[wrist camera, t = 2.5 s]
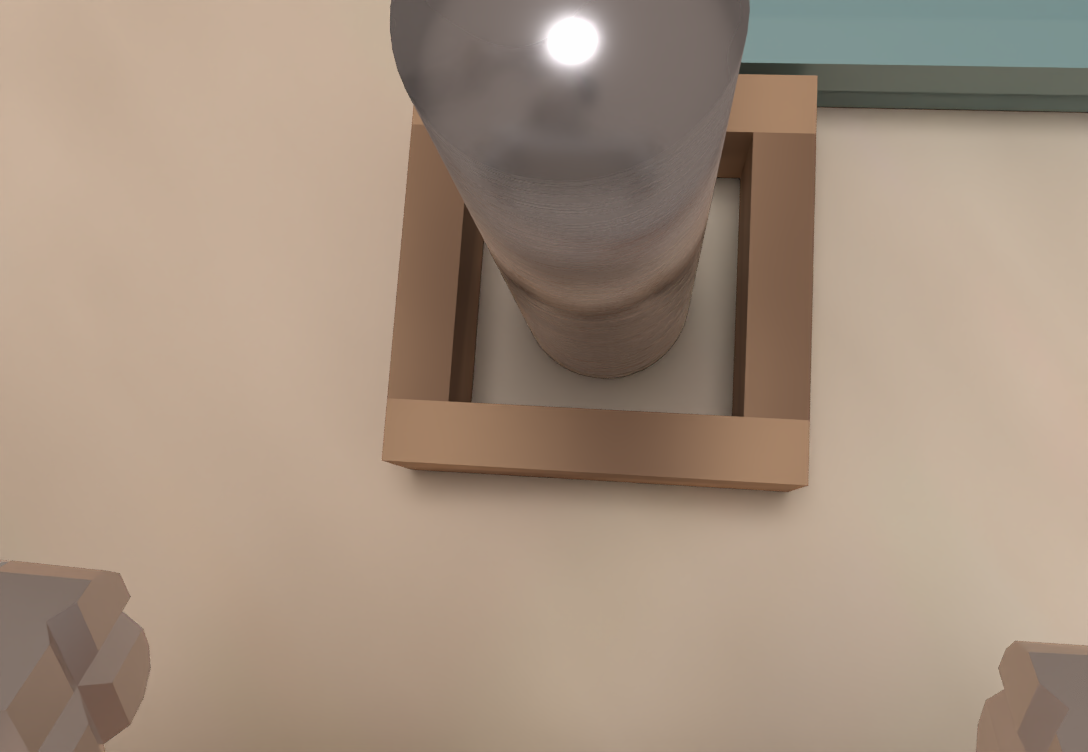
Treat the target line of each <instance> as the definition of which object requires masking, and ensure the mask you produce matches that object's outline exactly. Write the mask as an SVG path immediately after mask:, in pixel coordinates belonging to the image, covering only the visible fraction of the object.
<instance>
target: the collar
mask: <svg viewBox="0 0 1088 752" xmlns="http://www.w3.org/2000/svg"><path fill="white" fill-rule="evenodd" d="M816 120H817V76H816V75H758V74H738V79H737V84H736V88H735V93H734V98H733V103H732V107H731V112H730V117H729V121H728V126H727V131H726V135H725V140H724V145H723V149H722V154H721V159H720V164H719V168H718V173H717V177H724V178H740V206H739V234H738V263H737V291H736V320H735V348H734V377H733V405H732V416H717V415H698V414H679V413H660V412H641V411H621V410H602V409H583V408H564V407H545V406H525V405H506V404H487V403H471V398H472V385H473V372H474V359H475V346H476V333H477V320H478V307H479V294H480V281H481V267H482V254H483V241H484V239H483V237H482V235H481V234H480V232H479V230H478V228H477V226H476V224H475V222H474V220H473V218H472V216H471V214H470V212H469V210H468V208H467V207H466V205H465V203H464V201H463V199H462V197H461V195H460V193H459V191H458V189H457V187H456V185H455V183H454V182H453V180H452V178H451V176H450V174H449V172H448V170H447V168H446V166H445V164H444V162H443V160H442V158H441V156H440V155H439V153H438V151H437V149H436V147H435V145H434V143H433V141H432V139H431V137H430V135H429V133H428V131H427V129H426V128H425V126H424V124H423V122H422V120H421V118H420V116H419V114H418V112H417V110H416V108H415V106H414V107H413V118H412V129H411V140H410V151H409V162H408V173H407V184H406V196H405V207H404V218H403V229H402V240H401V251H400V262H399V273H398V284H397V296H396V307H395V318H394V329H393V340H392V351H391V362H390V373H389V385H388V396H387V407H386V418H385V429H384V440H383V451H382V461H386V462H389V463H392V464H395V465H399V466H402V467H405V468H408V469H414V470H431V471H448V472H465V473H481V474H498V475H515V476H532V477H549V478H566V479H582V480H599V481H616V482H633V483H650V484H666V485H683V486H700V487H717V488H734V489H750V490H767V491H784V492H789V491H792V490H795V489H798V488H801V487H804V486H808V471H809V427H810V383H811V339H812V295H813V252H814V208H815V164H816Z"/></svg>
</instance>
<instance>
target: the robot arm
mask: <svg viewBox="0 0 1088 752" xmlns="http://www.w3.org/2000/svg"><path fill="white" fill-rule="evenodd" d="M130 597H131V596H130V594H129V592H128V590H127V588H126V586H125V583H124V581H123V579H122V577H121V575H120V573H116V572H111V571H104V570H95V569H86V568H76V567H67V566H58V565H48V564H39V563H29V562H20V561H7V560H0V752H105V748H104V743H106V742H107V741H109V740H110V739H111V738H113V737H114V736H115V735H117V734H118V733H120V732H121V731H122V730H124V729H125V728H126V727H128V726H129V725H130V724H131V722H132V720H133V718H134V716H135V714H136V712H137V710H138V708H139V706H140V704H141V702H142V700H143V698H144V694H145V690H146V686H147V681H148V677H149V672H150V668H151V666H150V651H149V644H148V641H147V638H146V636H145V633H144V630H143V628H142V627H141V626H140V625H138V624H137V623H136V622H135V621H133V620H132V619H131V618H130V617H128V616H127V615H126V614H125V613H123V612H122V611H123V609H124V607H125V606H126V604H127V602H128V601H129V599H130ZM998 669H999V673H1000V676H1001V680H1002V683H1003V686H1004V690H1002V691H1000V692H999V693H997V694H995V695H994V696H992V697H990V698H989V699H987V700H986V701H985V704H984V707H983V710H982V713H981V716H980V719H979V723H978V729H977V746H976V752H1088V646H1087V645H1072V644H1057V643H1041V642H1026V641H1014V642H1013V643H1012V644H1011V645H1010V646H1009V647H1008V648H1006V650H1005V652H1004V655H1003V657H1002V660H1001V662H1000V665H999V667H998Z"/></svg>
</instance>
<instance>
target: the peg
mask: <svg viewBox="0 0 1088 752" xmlns="http://www.w3.org/2000/svg"><path fill="white" fill-rule="evenodd" d="M749 13H750V2H749V0H391V6H390V33H391V42H392V50H393V54H394V58H395V62H396V65H397V69H398V72H399V74H400V77H401V79H402V82H403V84H404V86H405V89H406V91H407V93H408V95H409V97H410V99H411V101H412V103H413V104H414V106H415V108H416V110H417V112H418V114H419V116H420V118H421V120H422V122H423V124H424V126H425V128H426V129H427V131H428V133H429V135H430V137H431V139H432V141H433V143H434V145H435V147H436V149H437V151H438V153H439V155H440V156H441V158H442V160H443V162H444V164H445V166H446V168H447V170H448V172H449V174H450V176H451V178H452V180H453V182H454V183H455V185H456V187H457V189H458V191H459V193H460V195H461V197H462V199H463V201H464V203H465V205H466V207H467V208H468V210H469V212H470V214H471V216H472V218H473V220H474V222H475V224H476V226H477V228H478V230H479V232H480V234H481V235H482V237H483V239H484V241H485V243H486V245H487V247H488V249H489V251H490V253H491V255H492V257H493V259H494V261H495V262H496V264H497V266H498V268H499V270H500V272H501V274H502V276H503V278H504V280H505V282H506V284H507V286H508V287H509V289H510V291H511V293H512V295H513V297H514V299H515V301H516V303H517V305H518V307H519V309H520V311H521V313H522V314H523V316H524V318H525V320H526V322H527V324H528V326H529V328H530V330H531V332H532V334H533V335H534V337H535V339H536V341H537V342H538V344H539V345H540V346H541V348H542V349H543V350H544V351H545V352H546V353H547V354H548V355H549V356H550V357H551V358H552V359H553V360H554V361H556V362H557V363H559V364H560V365H561V366H563V367H565V368H567V369H569V370H571V371H573V372H576V373H578V374H581V375H585V376H589V377H596V378H616V377H623V376H627V375H630V374H634V373H636V372H639V371H641V370H643V369H645V368H647V367H649V366H650V365H652V364H654V363H655V362H656V361H657V360H659V359H660V358H661V357H662V356H663V355H664V354H665V353H666V352H667V351H668V350H669V349H670V348H671V347H672V345H673V344H674V343H675V341H676V340H677V338H678V337H679V335H680V333H681V331H682V329H683V326H684V324H685V321H686V317H687V313H688V309H689V304H690V300H691V295H692V290H693V286H694V281H695V276H696V271H697V267H698V262H699V257H700V253H701V248H702V243H703V239H704V234H705V229H706V225H707V220H708V215H709V210H710V206H711V201H712V196H713V192H714V187H715V182H716V178H717V173H718V168H719V164H720V159H721V154H722V149H723V145H724V140H725V135H726V131H727V126H728V121H729V117H730V112H731V107H732V103H733V98H734V93H735V88H736V84H737V79H738V74H739V70H740V65H741V60H742V56H743V51H744V46H745V42H746V37H747V32H748V22H749Z"/></svg>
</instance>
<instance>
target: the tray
mask: <svg viewBox="0 0 1088 752" xmlns="http://www.w3.org/2000/svg"><path fill="white" fill-rule="evenodd" d="M749 2H750V13H749V22H748V32H747V37H746V42H745V46H744V51H743V56H742V60H741V65H740V70H739V74H758V75H816V76H817V107H865V108H914V109H963V110H1013V111H1062V112H1088V0H749Z"/></svg>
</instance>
